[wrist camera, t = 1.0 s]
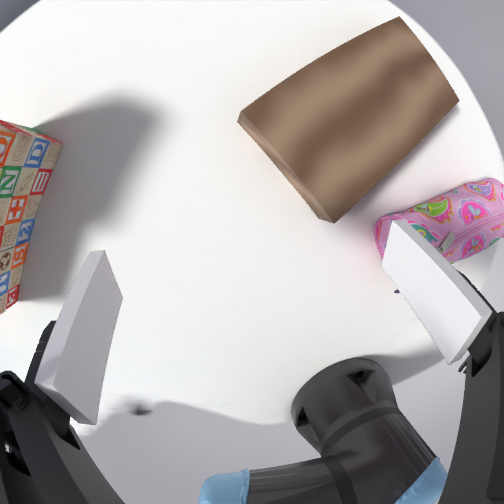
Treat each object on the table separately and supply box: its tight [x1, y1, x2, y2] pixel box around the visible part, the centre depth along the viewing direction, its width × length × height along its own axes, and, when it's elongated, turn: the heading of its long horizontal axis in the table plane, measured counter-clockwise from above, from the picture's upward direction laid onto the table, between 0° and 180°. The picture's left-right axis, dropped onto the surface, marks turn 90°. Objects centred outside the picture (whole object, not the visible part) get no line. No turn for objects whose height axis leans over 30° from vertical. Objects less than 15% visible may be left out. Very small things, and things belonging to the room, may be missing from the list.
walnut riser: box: [237, 16, 459, 223], centre depth 24 cm, size 13×25×4 cm, turn 131°
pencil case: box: [374, 178, 504, 293], centre depth 27 cm, size 21×9×9 cm, turn 106°
